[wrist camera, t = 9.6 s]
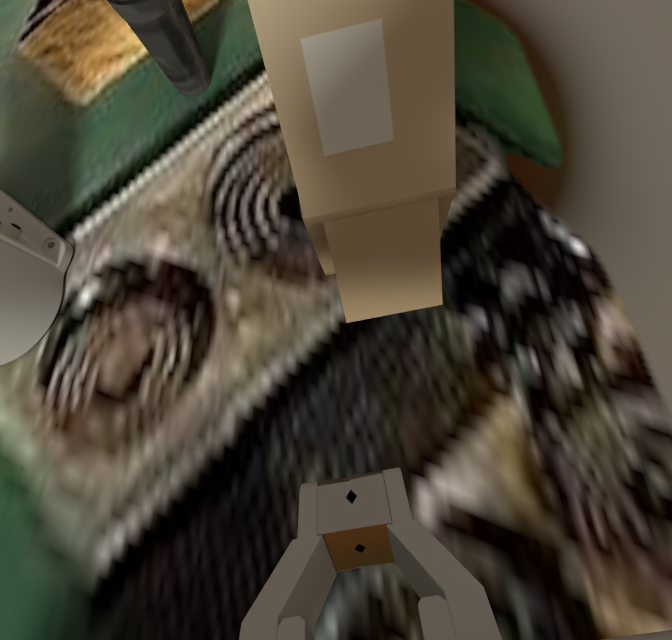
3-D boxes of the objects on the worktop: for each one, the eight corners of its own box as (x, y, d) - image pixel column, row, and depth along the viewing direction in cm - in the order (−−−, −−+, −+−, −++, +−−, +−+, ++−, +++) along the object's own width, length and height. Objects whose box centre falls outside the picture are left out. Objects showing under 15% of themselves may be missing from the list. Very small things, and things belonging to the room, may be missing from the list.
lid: (454, 297, 31) (457, 302, 31) (332, 320, 32) (332, 326, 31) (448, -78, 18) (453, -83, 18) (243, -23, 19) (240, -25, 18)
